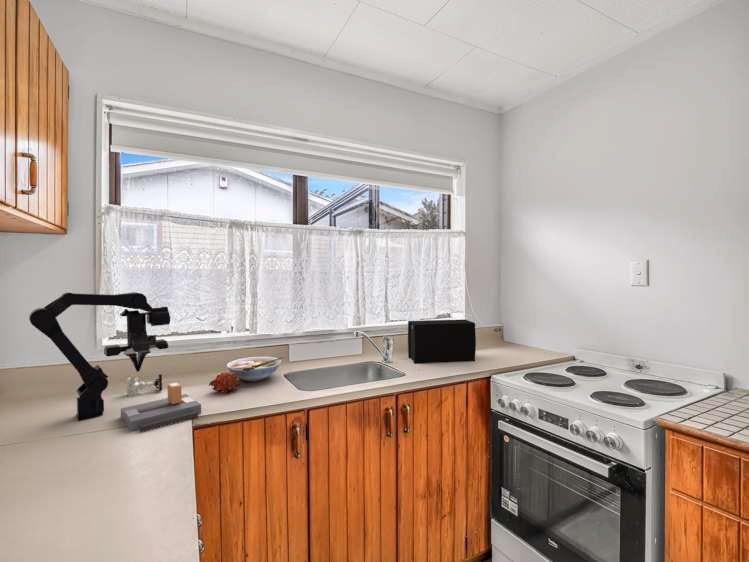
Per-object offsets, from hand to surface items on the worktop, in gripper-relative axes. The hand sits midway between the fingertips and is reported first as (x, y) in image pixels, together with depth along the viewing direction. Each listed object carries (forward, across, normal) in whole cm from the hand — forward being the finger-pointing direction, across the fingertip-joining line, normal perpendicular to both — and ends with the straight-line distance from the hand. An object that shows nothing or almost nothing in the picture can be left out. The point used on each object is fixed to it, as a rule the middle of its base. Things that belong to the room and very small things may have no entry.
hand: (137, 371), depth 133 cm
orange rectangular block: (+8, +7, -17) cm, 20 cm away
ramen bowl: (+12, +44, 0) cm, 46 cm away
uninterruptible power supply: (+12, +131, -38) cm, 137 cm away
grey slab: (+12, +3, -17) cm, 21 cm away
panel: (+12, +3, -17) cm, 21 cm away
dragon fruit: (+12, +28, -8) cm, 32 cm away
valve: (+12, +5, +13) cm, 19 cm away
